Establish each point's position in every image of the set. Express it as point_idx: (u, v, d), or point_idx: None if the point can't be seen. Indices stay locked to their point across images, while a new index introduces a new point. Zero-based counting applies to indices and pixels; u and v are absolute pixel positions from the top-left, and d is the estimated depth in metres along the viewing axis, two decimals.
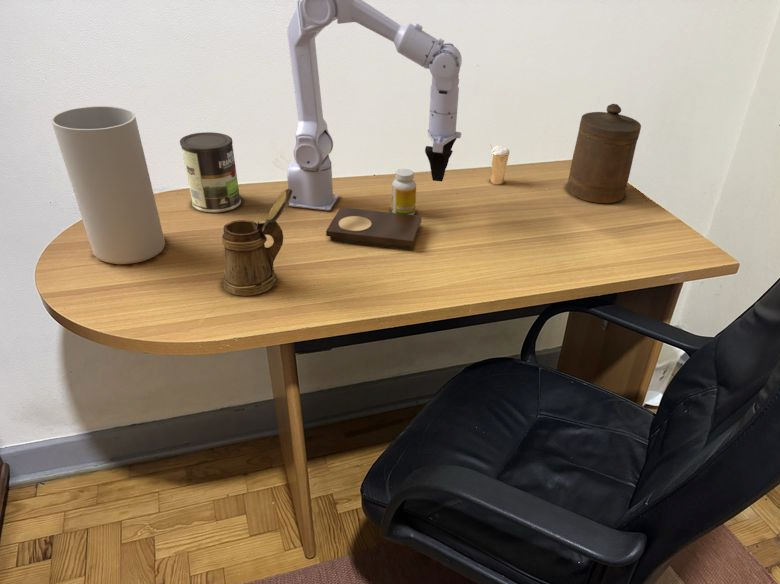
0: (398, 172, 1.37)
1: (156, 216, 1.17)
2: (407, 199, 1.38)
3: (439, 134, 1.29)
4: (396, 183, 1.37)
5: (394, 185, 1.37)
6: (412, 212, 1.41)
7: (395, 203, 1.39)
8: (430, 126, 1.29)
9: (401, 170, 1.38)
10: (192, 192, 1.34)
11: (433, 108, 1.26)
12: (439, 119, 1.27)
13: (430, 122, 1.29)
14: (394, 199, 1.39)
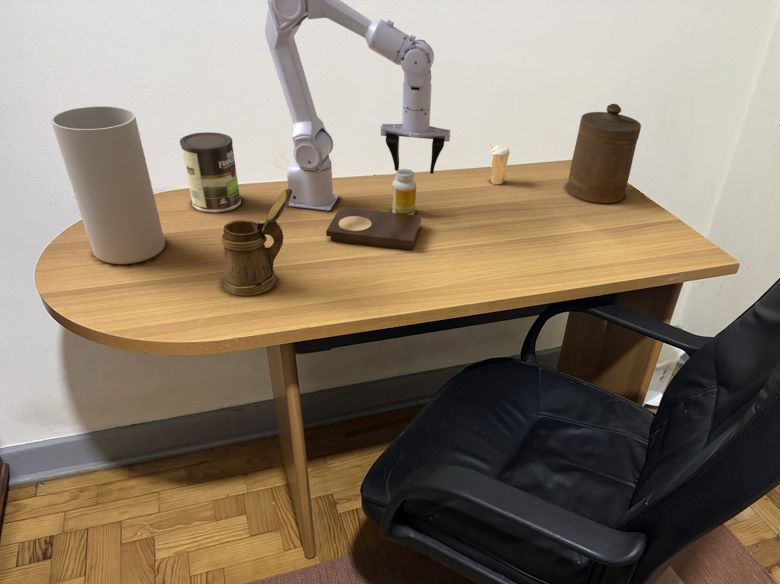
0: (398, 172, 1.37)
1: (156, 216, 1.17)
2: (407, 199, 1.38)
3: None
4: (396, 183, 1.37)
5: (394, 185, 1.37)
6: (412, 212, 1.41)
7: (395, 203, 1.39)
8: None
9: (401, 170, 1.38)
10: (192, 192, 1.34)
11: (406, 104, 1.26)
12: None
13: None
14: (394, 199, 1.39)
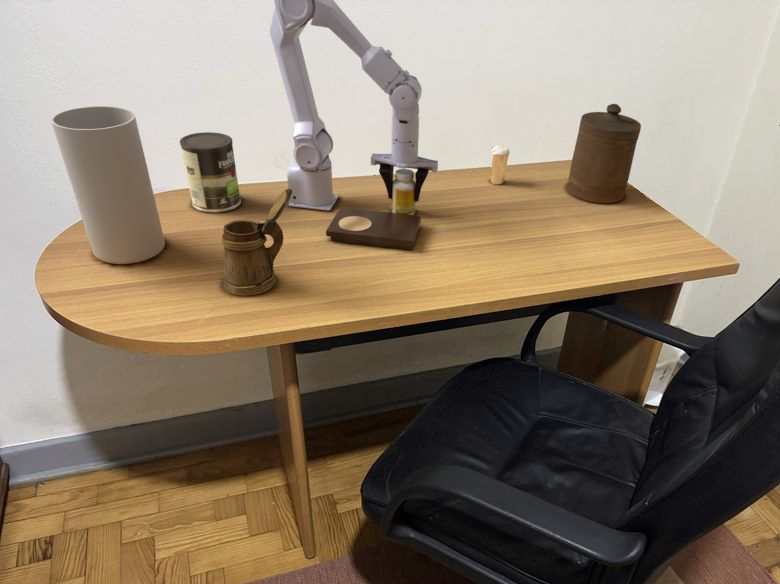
0: (398, 172, 1.37)
1: (156, 216, 1.17)
2: (407, 199, 1.38)
3: None
4: (397, 183, 1.37)
5: (394, 185, 1.37)
6: (412, 212, 1.41)
7: (395, 203, 1.39)
8: None
9: (401, 170, 1.38)
10: (192, 192, 1.34)
11: (394, 137, 1.31)
12: None
13: None
14: (394, 199, 1.39)
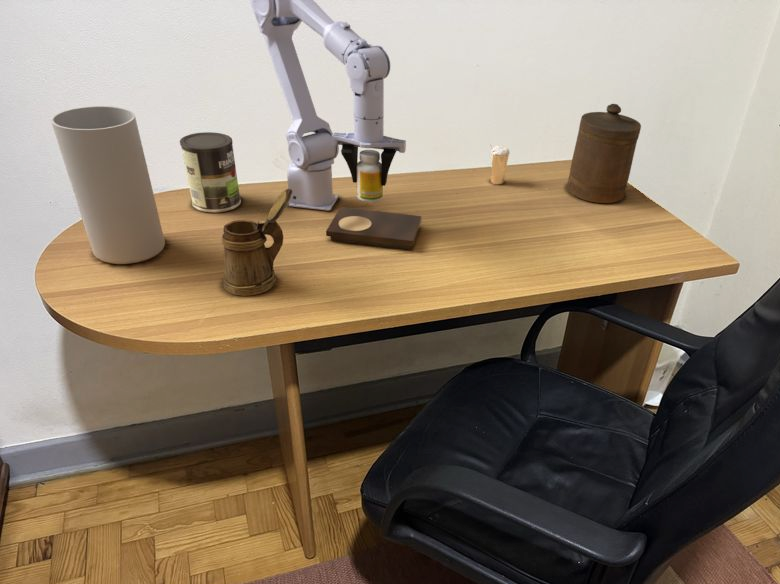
0: (362, 152, 1.25)
1: (156, 216, 1.17)
2: (373, 182, 1.27)
3: None
4: (361, 165, 1.25)
5: (358, 167, 1.26)
6: (379, 197, 1.30)
7: (360, 187, 1.28)
8: None
9: (366, 151, 1.26)
10: (192, 192, 1.34)
11: None
12: None
13: None
14: (359, 183, 1.27)
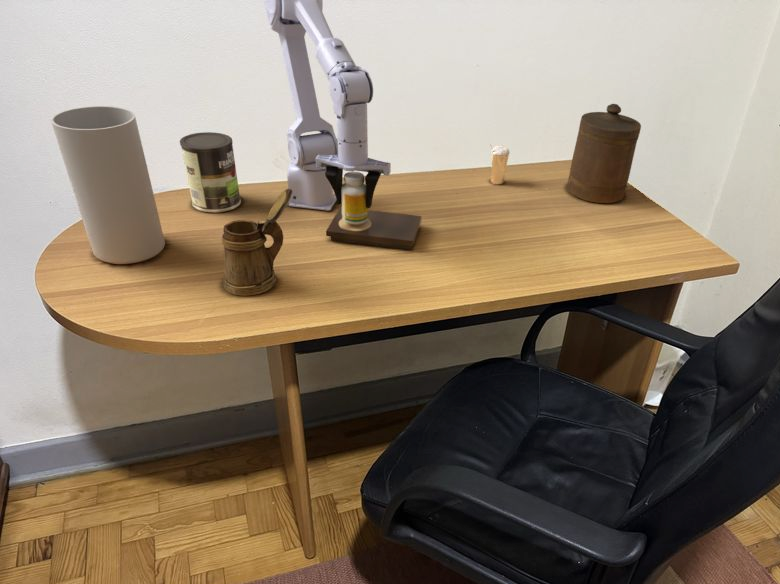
0: (346, 175, 1.24)
1: (156, 216, 1.17)
2: (357, 205, 1.26)
3: None
4: (345, 188, 1.24)
5: (343, 190, 1.25)
6: (364, 219, 1.28)
7: (344, 209, 1.27)
8: None
9: (350, 173, 1.25)
10: (192, 192, 1.34)
11: None
12: None
13: None
14: (343, 205, 1.26)
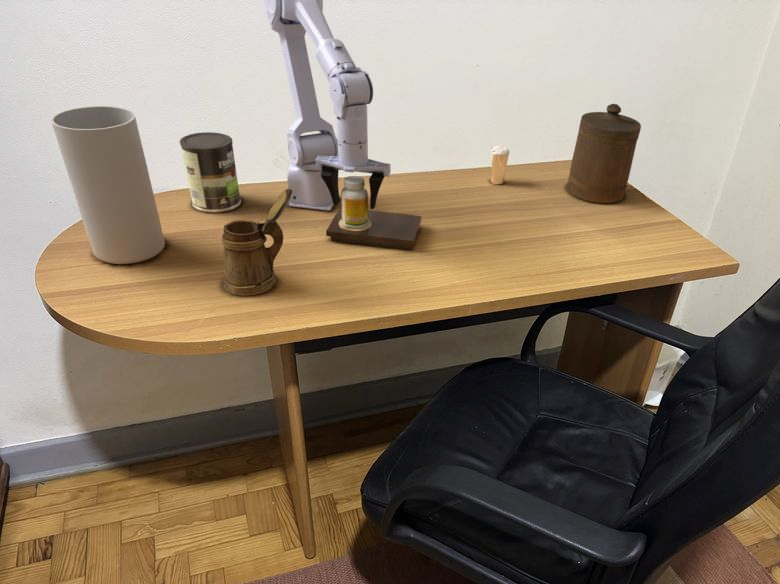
0: (346, 179, 1.25)
1: (156, 216, 1.17)
2: (357, 209, 1.26)
3: None
4: (345, 192, 1.25)
5: (343, 194, 1.25)
6: (364, 223, 1.29)
7: (345, 213, 1.27)
8: None
9: (350, 177, 1.25)
10: (192, 192, 1.34)
11: None
12: None
13: None
14: (343, 209, 1.27)
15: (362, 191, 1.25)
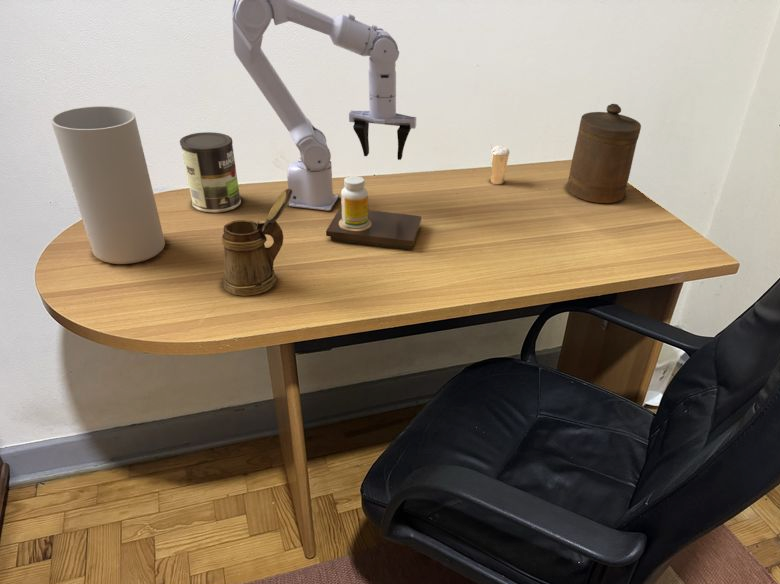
0: (346, 179, 1.25)
1: (156, 216, 1.17)
2: (357, 209, 1.26)
3: None
4: (345, 192, 1.25)
5: (343, 194, 1.25)
6: (364, 223, 1.29)
7: (345, 213, 1.27)
8: None
9: (350, 177, 1.25)
10: (192, 192, 1.34)
11: (375, 93, 1.30)
12: None
13: None
14: (343, 209, 1.27)
15: (362, 191, 1.25)
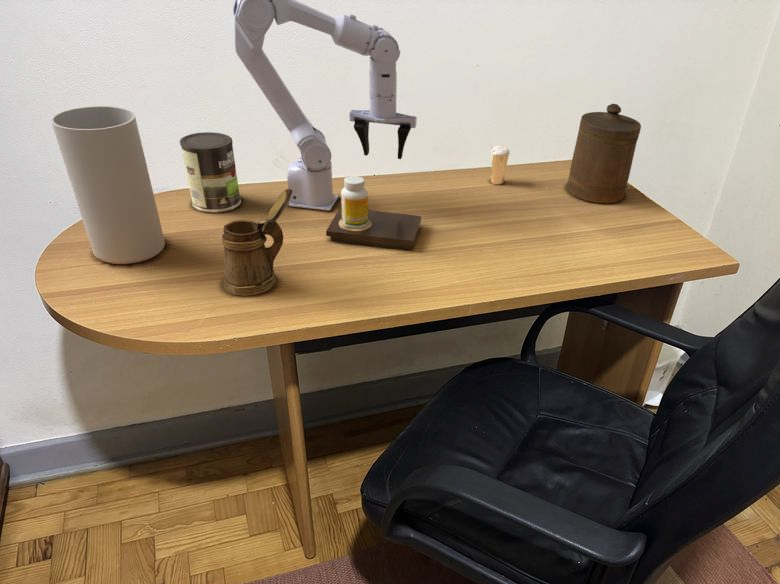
0: (346, 179, 1.25)
1: (156, 216, 1.17)
2: (357, 209, 1.26)
3: None
4: (345, 192, 1.25)
5: (343, 194, 1.25)
6: (364, 223, 1.29)
7: (345, 213, 1.27)
8: None
9: (350, 177, 1.25)
10: (192, 192, 1.34)
11: (376, 92, 1.31)
12: None
13: None
14: (343, 209, 1.27)
15: (362, 191, 1.25)
